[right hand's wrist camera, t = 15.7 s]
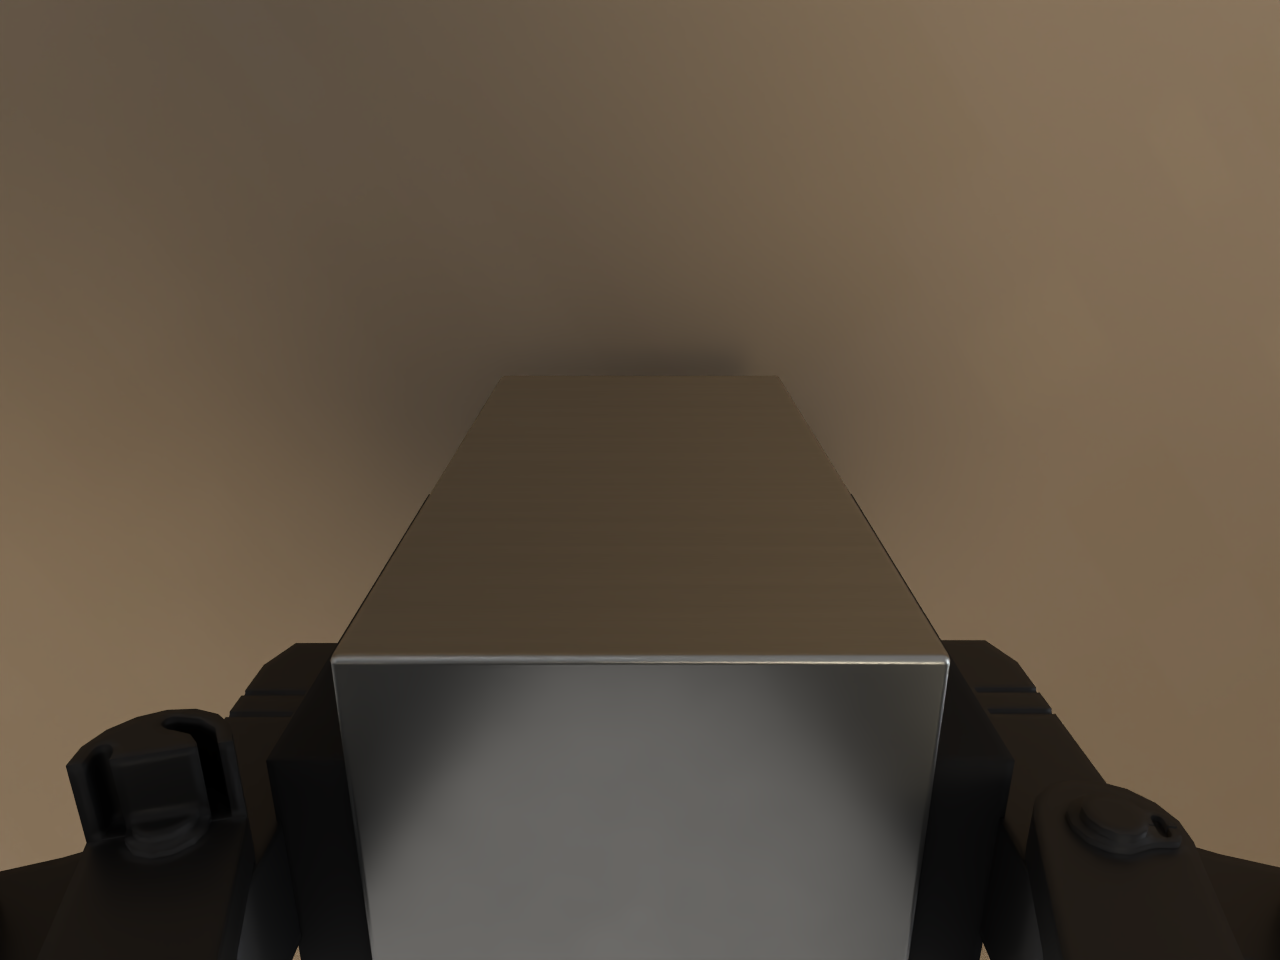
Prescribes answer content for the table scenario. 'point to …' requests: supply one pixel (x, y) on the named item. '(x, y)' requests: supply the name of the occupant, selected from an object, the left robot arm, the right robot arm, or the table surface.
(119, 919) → the right robot arm
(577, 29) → the table surface
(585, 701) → the silver metal block
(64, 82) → the table surface
